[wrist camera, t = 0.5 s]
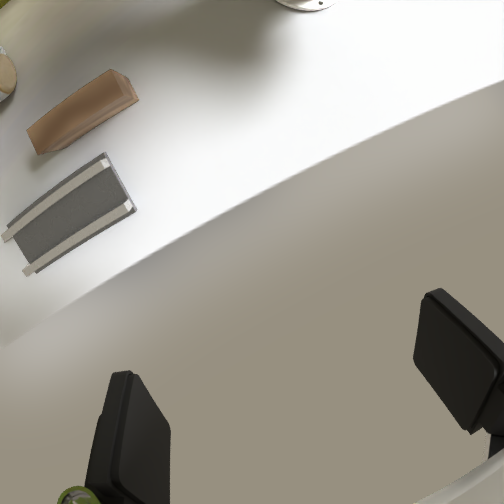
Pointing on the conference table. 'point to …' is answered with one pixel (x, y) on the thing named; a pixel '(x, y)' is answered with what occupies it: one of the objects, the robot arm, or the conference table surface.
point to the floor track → (70, 214)
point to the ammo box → (3, 3)
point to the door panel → (82, 112)
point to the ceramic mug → (6, 75)
